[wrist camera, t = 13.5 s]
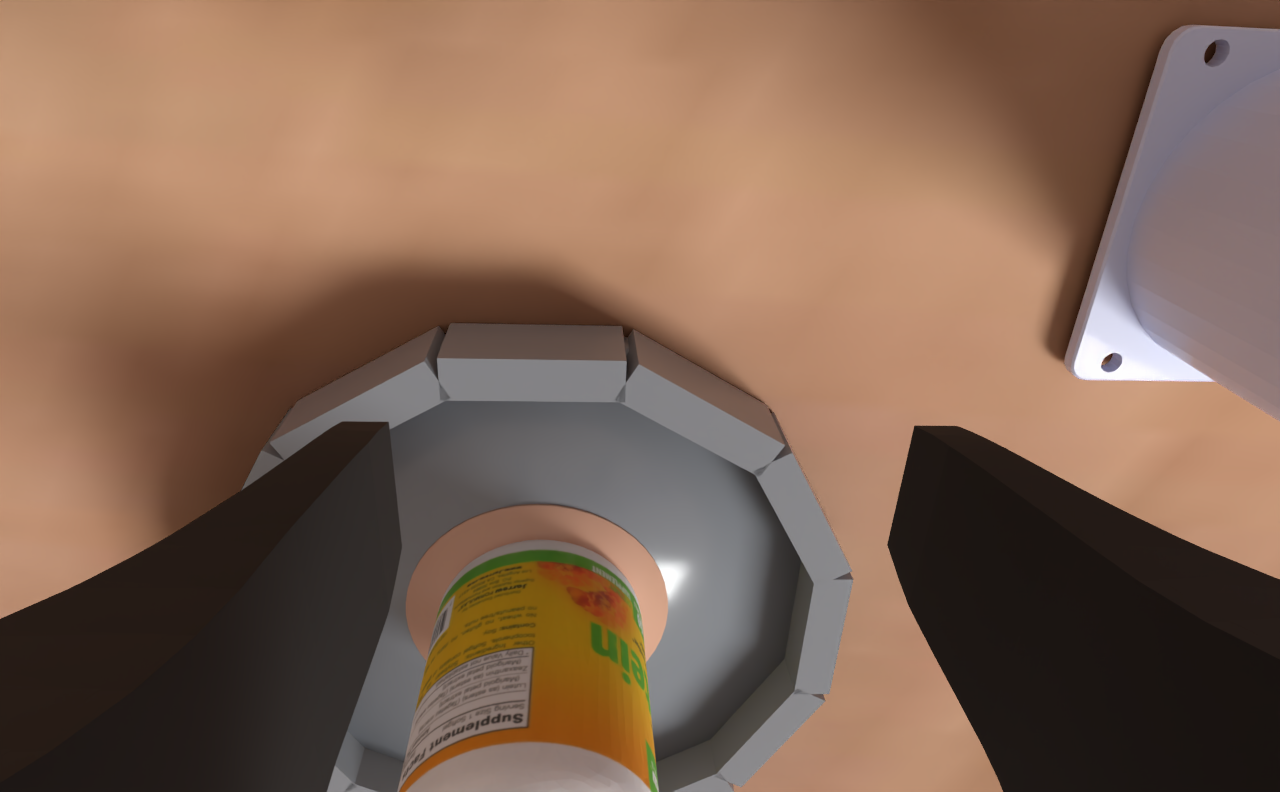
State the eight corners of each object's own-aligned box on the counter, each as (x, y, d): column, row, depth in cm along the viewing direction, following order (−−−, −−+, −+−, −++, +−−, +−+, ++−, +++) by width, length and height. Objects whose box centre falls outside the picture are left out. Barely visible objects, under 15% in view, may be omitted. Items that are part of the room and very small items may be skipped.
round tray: (869, 330, 20) (898, 364, 18) (784, 778, 27) (799, 834, 25) (180, 318, 18) (138, 353, 16) (287, 792, 25) (265, 853, 24)
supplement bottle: (671, 646, 23) (730, 1056, 14) (499, 711, 23) (453, 1140, 15) (589, 502, 20) (599, 888, 12) (400, 579, 21) (275, 998, 12)
